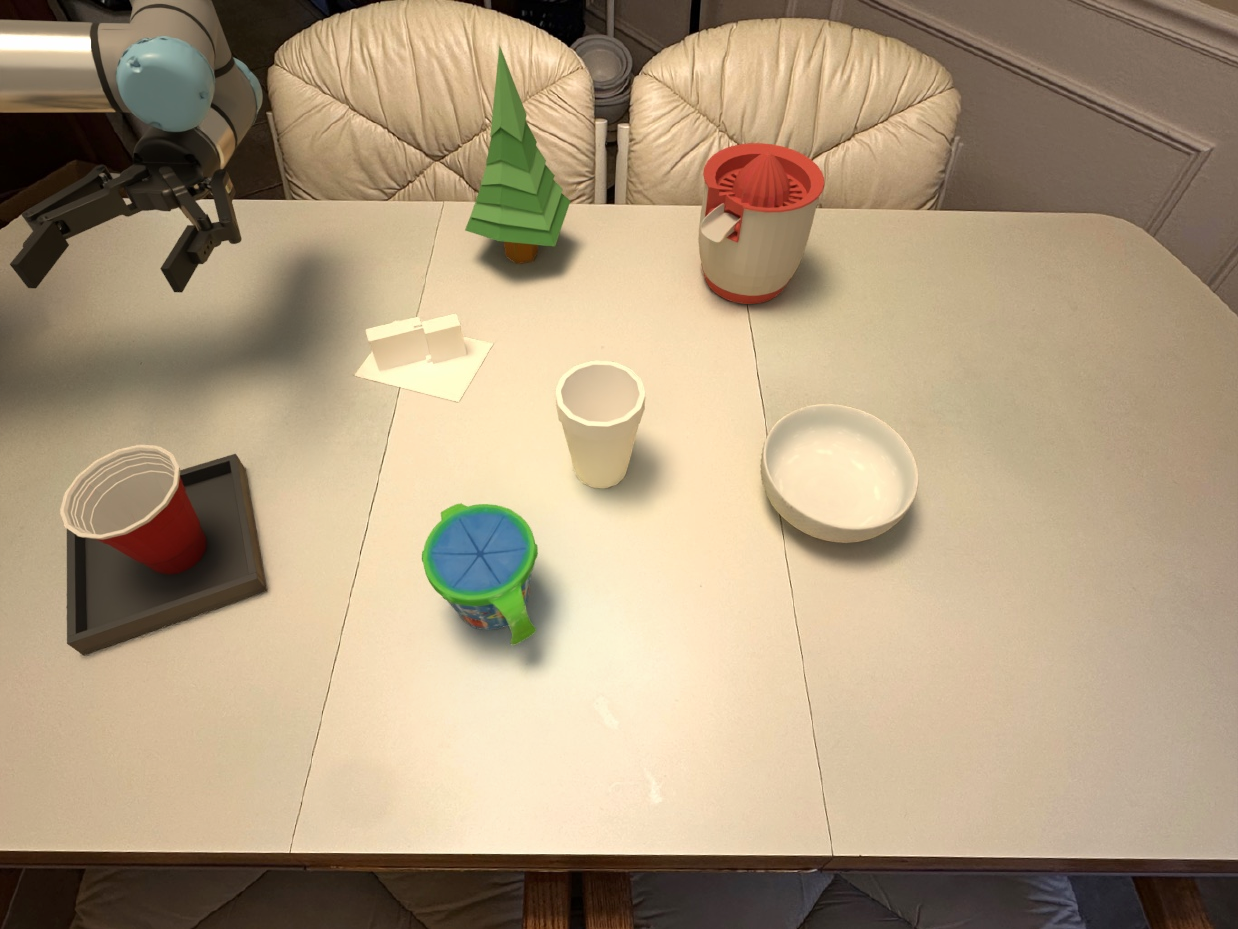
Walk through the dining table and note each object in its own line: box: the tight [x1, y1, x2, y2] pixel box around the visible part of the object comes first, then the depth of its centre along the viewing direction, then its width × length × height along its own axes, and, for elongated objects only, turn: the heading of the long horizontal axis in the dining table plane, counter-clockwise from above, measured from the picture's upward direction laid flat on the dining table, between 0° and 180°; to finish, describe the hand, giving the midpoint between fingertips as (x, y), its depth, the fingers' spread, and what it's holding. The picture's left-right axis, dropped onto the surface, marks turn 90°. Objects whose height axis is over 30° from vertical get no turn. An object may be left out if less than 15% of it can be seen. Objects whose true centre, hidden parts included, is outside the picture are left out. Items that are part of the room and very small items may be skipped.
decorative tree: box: [464, 45, 571, 265], centre depth 100 cm, size 14×16×30 cm
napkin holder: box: [354, 313, 494, 403], centre depth 96 cm, size 15×11×6 cm
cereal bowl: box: [759, 403, 920, 544], centre depth 83 cm, size 17×17×7 cm
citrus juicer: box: [697, 142, 825, 305], centre depth 101 cm, size 16×17×20 cm
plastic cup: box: [59, 444, 207, 575], centre depth 75 cm, size 11×11×12 cm
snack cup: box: [421, 502, 539, 646], centre depth 73 cm, size 16×10×10 cm
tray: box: [66, 453, 268, 656], centre depth 79 cm, size 18×18×3 cm
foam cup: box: [554, 360, 646, 489], centre depth 83 cm, size 10×9×13 cm
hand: (96, 278), depth 68 cm, fingers open, 13 cm apart
